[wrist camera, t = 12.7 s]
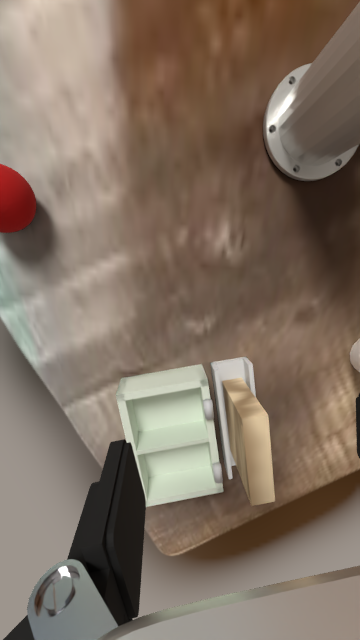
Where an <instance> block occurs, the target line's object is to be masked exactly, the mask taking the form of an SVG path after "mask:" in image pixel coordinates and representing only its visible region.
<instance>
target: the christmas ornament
mask: <svg viewBox="0 0 360 640" xmlns="http://www.w3.org/2000/svg"><path fill="white" fill-rule="evenodd" d="M35 212H36V199H35V195H34V192H33V190H32V188H31V187H30V185H29V184H28V182H27V181H26V180H25V179H24V178H23V177H22V176H21V175H20V174H19V173H18V172H16V171H15V170H13V169H11V168H9V167H7V166H5V165H2V164H0V232H2V233H11V232H16V231H19V230H22V229H23V228H25V227H26V226H28V225H29V224H30V223H31V221H32V220H33V218H34V216H35Z"/></svg>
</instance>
